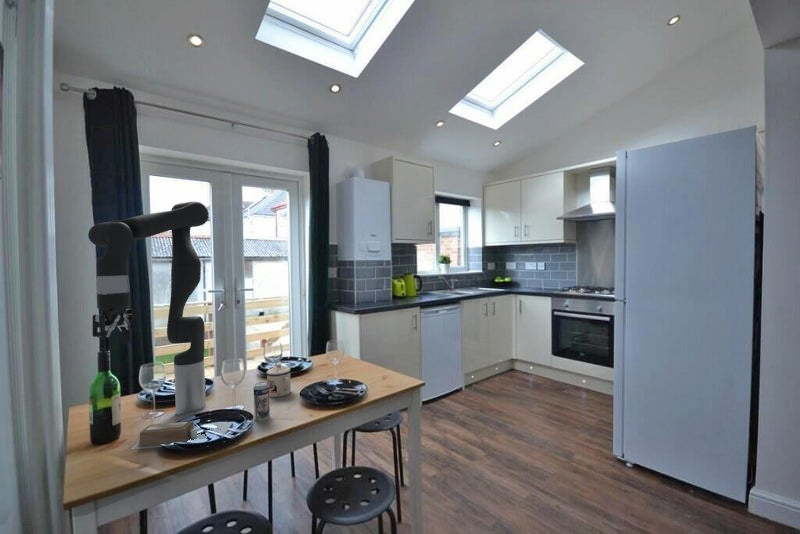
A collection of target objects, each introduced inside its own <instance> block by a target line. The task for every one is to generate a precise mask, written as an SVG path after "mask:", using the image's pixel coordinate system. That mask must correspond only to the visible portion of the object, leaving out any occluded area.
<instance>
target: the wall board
mask: <svg viewBox="0 0 800 534" xmlns="http://www.w3.org/2000/svg"><path fill="white" fill-rule="evenodd" d="M213 424H216V426H217V428H219V430H218V429H217V430H216V431H217V433H222V434H223V433H224V434H226V432H227V431H228V430H229V428H231V426H232V424H234V421H229V422H226V421H225V422H218V423H217V422H216V423H215V422H214V423H213ZM207 429H209V428H207ZM220 429H221V430H220ZM210 430H211V428H210ZM190 433H191V438H190V439H191V440H194V439H197V438H199V439H201V438H202V439H203V438H204V439H205V438H207V436H205V434H202V435H201V433H200V434H198V435H199V436H197V429H192V430H190ZM190 439H189V440H190ZM137 440H138V441H137V443H135V445H133V446H131V448H129V451H130V450H132V451H133V450H140V449H141V450H142V449H143V450H144V449H153V448H154V449H155V448H163V447H162V446H160V445H157V446H145V447H140V433H138V434H137Z"/></svg>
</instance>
